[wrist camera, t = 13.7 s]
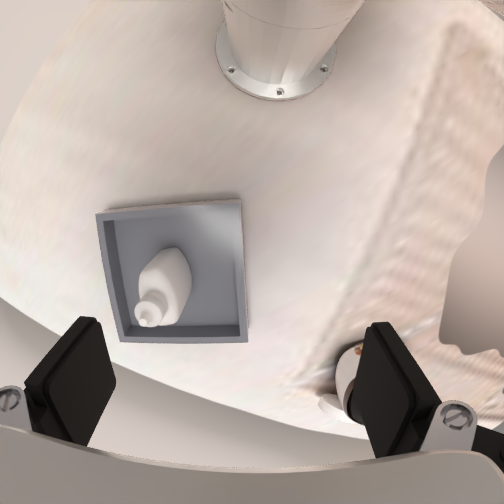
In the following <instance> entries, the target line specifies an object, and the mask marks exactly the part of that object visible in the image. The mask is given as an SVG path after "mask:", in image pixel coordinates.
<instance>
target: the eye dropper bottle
mask: <svg viewBox="0 0 504 504" xmlns="http://www.w3.org/2000/svg"><path fill="white" fill-rule="evenodd" d="M191 288H192V276H191V270H190V267H189V264H188V262H187V260H186V258H185V256H184V255H183V253H182V252H181V251H180V250H179V249H178V248H175V247H173V248H168V249H164V250H162V251H160V252H159V253H158V254H157V255H156V256H155V257H154V258H153V259H152V260H151V261H150V262H149V263H148V264H147V265H146V267H145V268H144V269H143V270H142V271H141V273H140V276H139V296H140V301H139V302H138V303H137V305H136V307H135V311H134V313H135V317H136V319H137V320H138V322H139V324H140V325H141V326H143V327H145V326H146V327H155V326H157V325H160V326H164V325H170V324H174V323H176V322H177V320H178V319H179V317H180V315H181V313H182V311H183V308H184V306H185V304H186V302H187V299H188V297H189V295H190V293H191Z"/></svg>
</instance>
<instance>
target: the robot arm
mask: <svg viewBox="0 0 504 504" xmlns="http://www.w3.org/2000/svg"><path fill="white" fill-rule="evenodd" d="M364 1H365V0H222V3H223V9H224V14H225V20H224V21H223V23H222V25H221V27H220V28H219V31H218V34H217V37H216V46H215V48H216V55H217V59H218V62H219V65H220V67H221V69H222V71H223V73H224V74H225V75H226V77H227V78H228V79H229V80H230V82H232V83H233V84H234V85H235V86H236V87H237V88H239V89H240V90H242V91H244V92H246V93H247V94H249V95H252V96H255V97H257V98H261V99H266V100H273V101H284V100H291V99H296V98H299V97H302V96H305V95H307V94H308V93H310V92H312V91H314V90H315V89H316V88H317V87H319V86H320V85H321V84H322V83H323V82H324V81H325V80H326V79H327V77H328V76H329V74H330V73H331V71H332V68H333V65H334V62H335V55H336V48H335V40H336V39H337V38H338V36H339V35H340V34H341V32H342V31H343V30H344V28H345V27H346V26H347V24H348V23H349V22H350V20H351V19H352V18H353V16H354V15H355V14H356V12H357V11H358V9H359V8H360V7H361V5H362V4H363V3H364ZM479 1H481V2H482V3H484V4H485V5H487V6H488V7H490V8H492V9H493V10H495V11H497V12H498V13H500V14H501V15H503V16H504V0H479ZM320 69H324V72H322V71H321V70H320ZM230 70H234V72H233V73H230V72H229V71H230ZM277 92H281V93H282V95H277ZM24 384H25V386H26V388H25V389H24V391H23V390H22V389H21V388H20V387H17V386H5V387H2V388H0V504H504V434H502V433H499V432H496V431H493V430H490V429H487V428H485V427H482V426H479V425H477V415H476V412H475V411H474V410H473V408H472V407H470V406H469V405H468V404H466V403H464V402H461V401H456V400H450V401H446V402H443V403H442V401H441V400H440V398H439V397H438V395H437V393H436V392H435V390H434V389H433V387H432V385H431V384H430V382H429V381H428V379H427V378H426V376H425V374H424V373H423V371H422V370H421V368H420V367H419V365H418V364H417V362H416V361H415V359H414V358H413V356H412V355H411V353H410V352H409V350H408V349H407V347H406V346H405V344H404V343H403V342H402V340H401V339H400V337H399V336H398V334H397V333H396V331H395V330H394V328H393V327H392V326H391V324H390V323H389V322H375V323H372V325H371V327H367V329H366V333H365V338H364V342H363V347H362V351H361V356H360V360H359V364H358V368H357V372H356V376H355V380H354V385H353V393H354V396H355V399H356V402H357V405H358V408H359V410H360V413H361V416H362V419H363V422H364V425H365V428H366V431H367V434H368V437H369V439H370V442H371V445H372V448H373V451H374V454H375V457H376V459H369V460H363V461H355V462H347V463H338V464H329V465H319V466H306V467H286V468H229V467H211V466H198V465H187V464H178V463H169V462H162V461H155V460H149V459H142V458H137V457H131V456H125V455H121V454H116V453H111V452H106V451H102V450H98V449H94V448H90V447H87V445H88V443H89V441H90V438H91V436H92V434H93V432H94V430H95V428H96V426H97V424H98V422H99V419H100V417H101V415H102V413H103V411H104V409H105V407H106V405H107V403H108V401H109V399H110V397H111V395H112V393H113V391H114V389H115V386H116V378H115V375H114V371H113V368H112V365H111V361H110V357H109V354H108V350H107V346H106V342H105V338H104V334H103V330H102V326H101V324H100V322H97V320H96V318H94V317H85V316H80V317H79V318H78V319H77V320H76V321H75V322H74V323H73V325H72V326H71V327H70V328H69V329H68V330H67V331H66V332H65V334H64V335H63V336H62V337H61V338H60V339H59V341H58V342H57V343H56V344H55V345H54V347H53V348H52V349H51V350H50V351H49V352H48V354H47V355H46V356H45V357H44V358H43V359H42V361H41V362H40V363H39V364H38V365H37V367H36V368H35V369H34V370H33V372H32V373H31V374H30V375H29V377H28V378H27V379H26V380H25V382H24Z"/></svg>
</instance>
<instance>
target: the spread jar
mask: <svg viewBox="0 0 504 504" xmlns="http://www.w3.org/2000/svg"><path fill="white" fill-rule="evenodd" d="M363 342H364V341H361V342H359V343H357V344H355V345H353V346H351V347H350V348H348V349H347V350H346V351H345V352H344V353H343V354H342V356H341V358H340V360H339V362H338V365H337V368H336V375H335V383H336V390H337V394H338V395H334V394H323V395H322V397H321V399H320V401H319V403H318V406H319V408H320V409H321V410H322V411H323V412H325V413H326V414H328V415H329V416H331V417H333V418H335V419H338V420H340V421H343V422H347V423H352V424H361V425H364V422H363V419H362V416H361V413H360V410H359V408H358V405H357V402H356V399H355V396H354V393H353V385H354V380H355V376H356V372H357V368H358V364H359V360H360V356H361V351H362V347H363ZM364 426H365V425H364Z"/></svg>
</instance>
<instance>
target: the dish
mask: <svg viewBox="0 0 504 504" xmlns="http://www.w3.org/2000/svg"><path fill="white" fill-rule="evenodd" d="M96 222H97V230H98V237H99V243H100V249H101V256H102V261H103V267H104V272H105V278H106V283H107V288H108V293H109V297H110V302H111V307H112V311H113V315H114V319H115V324H116V328H117V332H118V336H119V339H120V342H132V343H176V344H198V343H244V342H248V315H247V298H246V282H245V265H244V248H243V230H242V212H241V199H226V200H210V201H195V202H182V203H169V204H157V205H146V206H135V207H125V208H115V209H108V210H105V211H103V212H100V213H97V214H96ZM173 247H175V248H178V249H179V250H180V251H181V252H182V253H183V255H184V256H185V258H186V260H187V262H188V264H189V267H190V270H191V276H192V288H191V293H190V295H189V297H188V299H187V302H186V304H185V306H184V308H183V311H182V313H181V315H180V317H179V319H178V320H177V322H176V323H174V324H170V325H164V326H160V325H157V326H155V327H146V326H145V327H143V326H141V325H140V324H139V322H138V320H137V319H136V317H135V313H134V311H135V307H136V305H137V303H138V302H139V301H140V296H139V276H140V273H141V271H142V270H143V269H144V268H145V267H146V265H147V264H148V263H149V262H150V261H151V260H152V259H153V258H154V257H155V256H156V255H157V254H158V253H159V252H160V251H162V250H164V249H168V248H173Z"/></svg>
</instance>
